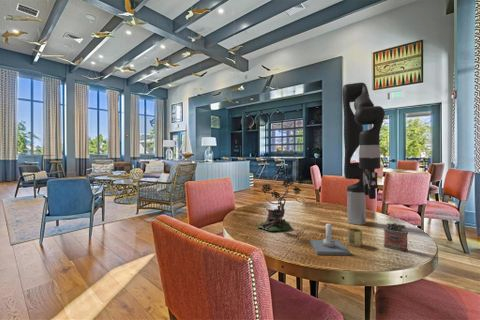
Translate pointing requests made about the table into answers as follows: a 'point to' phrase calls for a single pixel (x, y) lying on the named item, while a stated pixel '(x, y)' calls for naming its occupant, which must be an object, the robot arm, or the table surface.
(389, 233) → the small tin
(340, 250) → the grey peg stand
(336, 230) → the table surface
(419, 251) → the table surface
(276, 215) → the bonsai tree
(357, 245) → the bushing
